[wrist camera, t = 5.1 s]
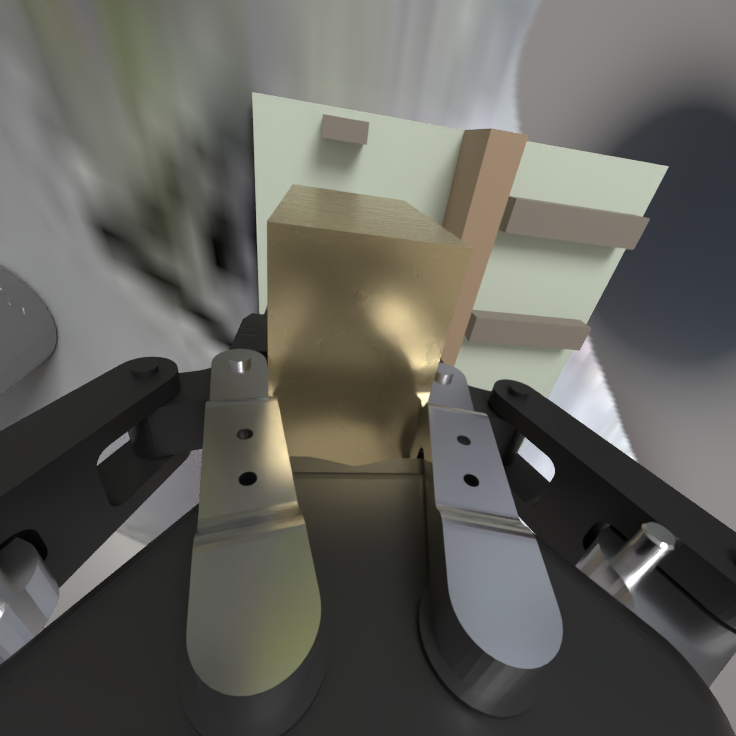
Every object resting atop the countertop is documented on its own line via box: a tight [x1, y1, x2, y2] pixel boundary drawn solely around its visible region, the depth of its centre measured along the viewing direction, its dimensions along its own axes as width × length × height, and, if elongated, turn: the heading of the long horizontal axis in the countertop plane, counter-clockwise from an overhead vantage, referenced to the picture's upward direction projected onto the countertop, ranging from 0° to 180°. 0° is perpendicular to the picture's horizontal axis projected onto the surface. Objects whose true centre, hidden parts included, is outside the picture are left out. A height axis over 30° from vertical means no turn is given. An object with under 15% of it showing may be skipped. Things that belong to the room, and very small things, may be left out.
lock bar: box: [267, 184, 473, 466], centre depth 11 cm, size 9×4×6 cm, turn 172°
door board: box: [252, 92, 668, 450], centre depth 26 cm, size 26×26×5 cm
